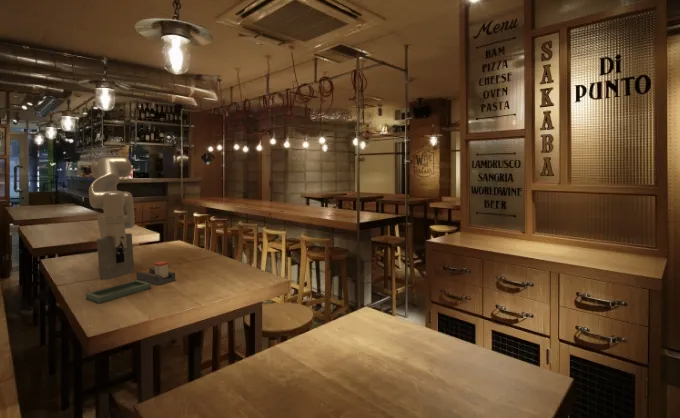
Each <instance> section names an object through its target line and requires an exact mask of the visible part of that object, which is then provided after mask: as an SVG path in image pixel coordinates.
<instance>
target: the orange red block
mask: <svg viewBox="0 0 680 418" xmlns="http://www.w3.org/2000/svg"><path fill="white" fill-rule="evenodd" d="M153 266H154V268H155V275H160V276H162V278H165V277H169V276H168V271H169V261H164V260H162V261H158V262H157V261H156V262H154V263H153Z"/></svg>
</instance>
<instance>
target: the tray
mask: <svg viewBox="0 0 680 418" xmlns="http://www.w3.org/2000/svg"><path fill="white" fill-rule="evenodd" d="M151 289H152V283H148V282H144V281H140V280H137V279H136V280H132V281H128V282H124V283H120V284H116V285H112V286H109V287H105V288H104V287H103V288H102V289H98V290H93V291H89V292H86V293H84V294H85V299H86V300H87V301H90V302H94V303H97V304H104V303H106V302H110V301H114V300H116V299H120V298H125V297H127V296H130V295H135V294H137V293H142V292H145V291H147V290H151Z"/></svg>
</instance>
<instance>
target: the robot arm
mask: <svg viewBox="0 0 680 418" xmlns="http://www.w3.org/2000/svg"><path fill="white" fill-rule="evenodd" d="M90 171H91V173H92V176H93V178H94V179H95V180H93V181H92V182H91V184H90V186H89V188H88V199H89V205H90V206H91V207H92V208H93V209H101V210H103V213H101V214H98V216H97V220H96V221H97V225H98V229H99V235H100V238H103V237H107V236H110V238H112V246H113V247H114V248H116V251H117V254H116V261H117V263H121V262H124V252H125V249H126V248H127V246H126V234H127V233H126V229H132V228H134V226H135V208H134V207H135V204H134V198H133V197H134V196H133V194H132V193H131V192H129V191H122V190H118V189H117V185H118V184H119V183H120V178H127V177H129V176H130V175H131V173H132V163H131V161H130V159H129V158H127V157H124V156H122V157H121V156H117V157H116V156H115V157H114V156H113V157H112V156H107V157H102V158H99V160H96V161H93V162H91V163H90ZM119 245H121V246H119ZM118 246H119V247H118ZM119 248H120V249H119Z"/></svg>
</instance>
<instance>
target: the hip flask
mask: <svg viewBox="0 0 680 418" xmlns="http://www.w3.org/2000/svg"><path fill="white" fill-rule="evenodd" d="M119 246H121V245H119ZM119 246H118V247H119ZM126 246H127V248H126V249H125V252H124V262H121V263H117V261H116V254H117V251H116V248H114V247H113V246H112V238H110V236H107V237H103V238H101V237H99V238H97V239H96V248H97V259H98V271H99V280H100V281H106V280H110V279H113V278H118V277H123V276H125V275H128V274H131V273H135V263H134V250H133V249H134V247H133V235H132V233H129V232H128V233H126ZM119 249H120V248H119Z"/></svg>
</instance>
